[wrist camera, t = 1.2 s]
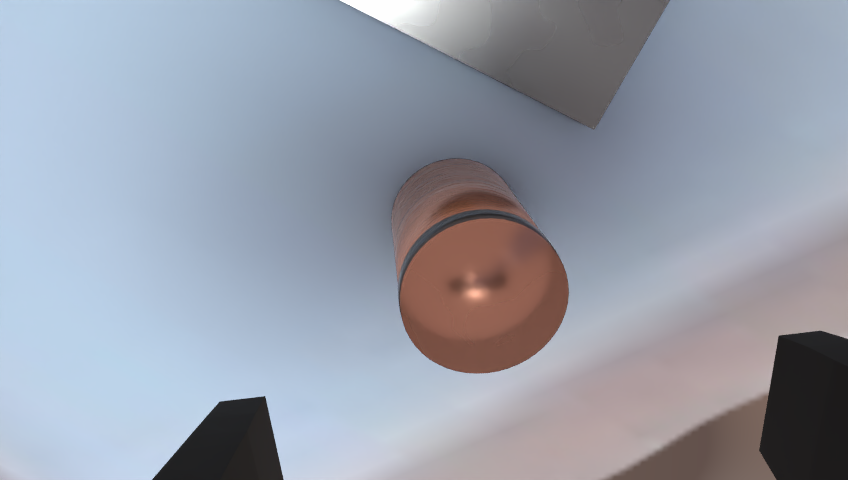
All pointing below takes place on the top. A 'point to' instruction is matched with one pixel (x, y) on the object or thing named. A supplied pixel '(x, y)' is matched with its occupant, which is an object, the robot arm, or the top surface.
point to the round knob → (473, 269)
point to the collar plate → (534, 43)
